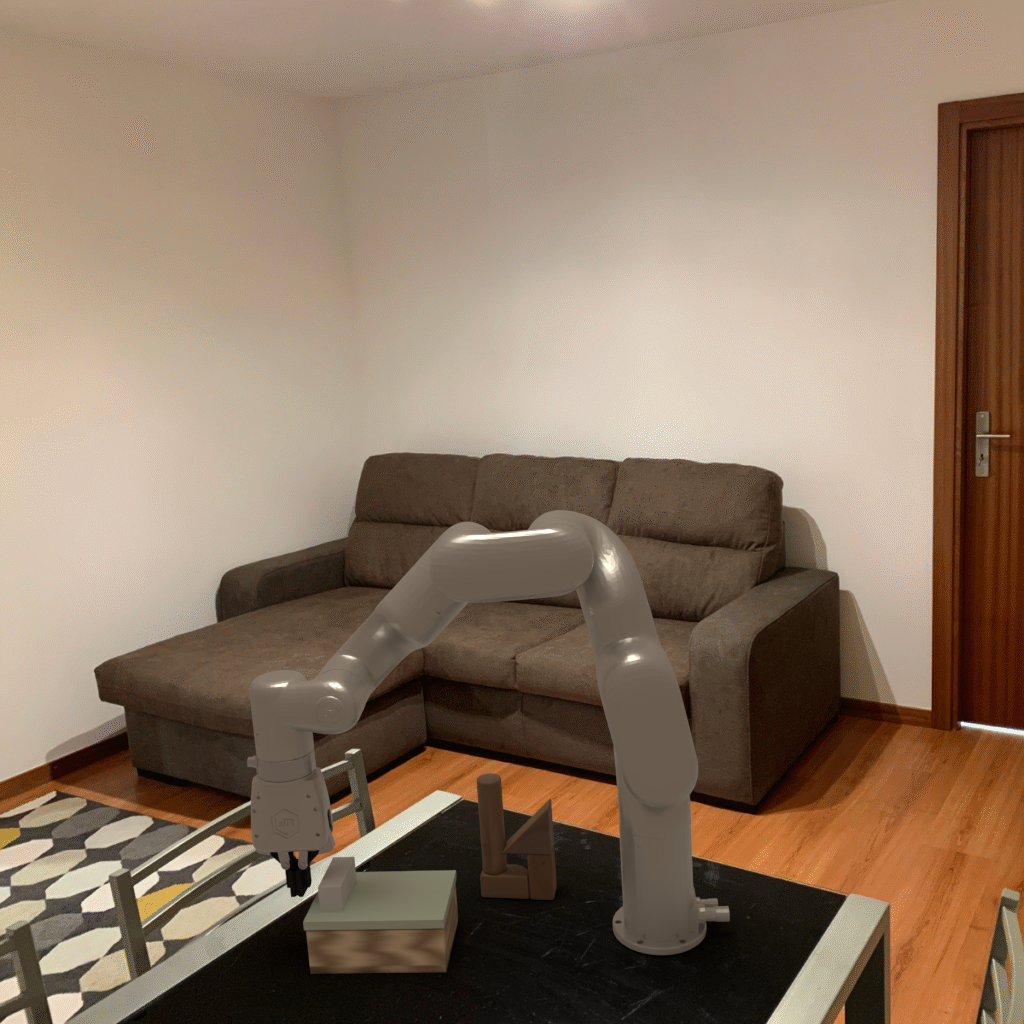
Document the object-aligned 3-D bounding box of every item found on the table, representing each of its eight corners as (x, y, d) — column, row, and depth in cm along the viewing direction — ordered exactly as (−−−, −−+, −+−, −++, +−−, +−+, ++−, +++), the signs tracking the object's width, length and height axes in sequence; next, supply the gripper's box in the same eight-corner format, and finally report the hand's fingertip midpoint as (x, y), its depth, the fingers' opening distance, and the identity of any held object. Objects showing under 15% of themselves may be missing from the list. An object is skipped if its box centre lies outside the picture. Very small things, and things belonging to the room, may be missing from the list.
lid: (456, 878, 142) (454, 846, 142) (443, 928, 130) (441, 894, 129) (328, 880, 144) (325, 849, 143) (303, 930, 132) (300, 896, 131)
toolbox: (458, 920, 143) (455, 880, 142) (446, 972, 131) (442, 929, 130) (333, 922, 145) (329, 883, 144) (310, 973, 133) (306, 931, 132)
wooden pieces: (553, 901, 146) (546, 784, 144) (481, 898, 148) (472, 782, 146) (557, 887, 150) (550, 773, 147) (486, 885, 152) (477, 772, 149)
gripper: (222, 777, 132) (237, 907, 135) (334, 774, 130) (347, 906, 133) (241, 754, 139) (255, 878, 142) (348, 751, 138) (360, 876, 141)
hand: (300, 891), depth 138 cm, fingers closed
